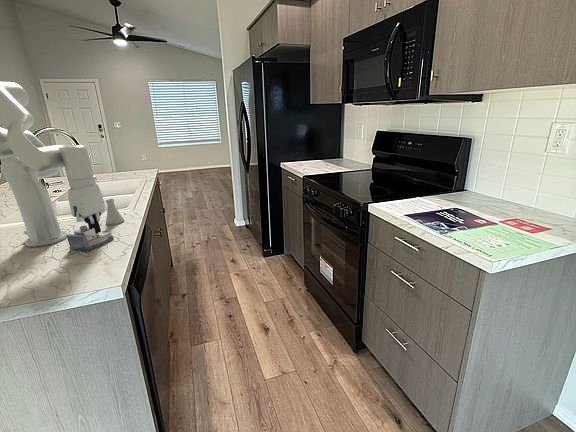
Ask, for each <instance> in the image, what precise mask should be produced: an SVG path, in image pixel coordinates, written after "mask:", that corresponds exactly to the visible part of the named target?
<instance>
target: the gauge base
mask: <svg viewBox="0 0 576 432" xmlns="http://www.w3.org/2000/svg"><path fill="white" fill-rule="evenodd" d="M66 236H67V237H66V238H67V242H68V245H69V247H68V248H69V251H73V252H80V251H81V253H90V252H93V251H95V249H98V248H99V247H102V246H104V245H106V244H107V243H110V242H111V241H114V239H115V238H114V236H113V235H112V231H108V232H106V233H105V234H100V232H99V233H97V234H96V237H97V238H95V239H93V240H91V241H89V242H88V241H87V237H86V236H84V235H74V234H72V233H69V234H67V235H66Z"/></svg>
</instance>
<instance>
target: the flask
mask: <svg viewBox="0 0 576 432" xmlns="http://www.w3.org/2000/svg"><path fill="white" fill-rule="evenodd" d="M105 203H106V206H107V207H106V208H107V210H106V218H105V219H106V220H105V225H107V226H114V225H118V224H120V223H123V222H125V219H124V217H123V216H122V214H121V213H120V211H119V210H118V208H117V206H116V204H115V199H114V198H108V199H105Z"/></svg>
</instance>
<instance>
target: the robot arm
mask: <svg viewBox="0 0 576 432" xmlns="http://www.w3.org/2000/svg"><path fill="white" fill-rule="evenodd" d="M29 102H30V99H29V95H28V93H27V91H26V90H25V88H23V86H21V85H19V84H18V83H16V82H12V81H5V80H4V81H0V124H1V125H2V127H1V126H0V159H4V160H2V162H1V164H0V172H1V174H2V175H3V176H2V177H4V179H5V180H6V181H7V183H8V186H9V187H10V189H11V191H12V195H13V196H14V199H15V202H16V203H17V204H16V205H17V207H18V210H19V213H20V216H21V219H22V221H23V224H24V227H25V229H26V230H24V232H23V234H24V235H27V236H28V237H27V239H26V240H25V241H24V242H25V246H26V247H30V248H38V247H39V248H40V247H44V246H49V245H52V244H53V245H54V244H56V243H59V242H61V241H63V240H65V239H66V238H67V236H66V235H68V233H67V232H66V231H64V230H61V227H60V223H59V221H58V218H57V213H56V211H55V208H54V205H53V202H52V198H51V195H50V192H49V190H48V188H46V186H45V185H44V184H42V182H40V180H42V179H46V178H47V179H48V178H51V177H54V176H56V175H58V174H59V172H60V171H61V168H64V170H65V174H66V177H67V181H68V183H69V184H68V185H69V188H68V191H67V193H68V204H69V207H70V213H71V215H72V217H73V218H75V219H76V222H77V223H82V222H85V224H87V227H88V228H94V229H95V233H96V234H97V233H99V234H100V233H101V232H102V230H101V225H100V221H101V216H102V215H103V214H104V213H105V212H106V210H105V209H106V205H105V204H106V202H105V200H104V197H103V194H102V192H101V189H100V187H99V185H98V183H97V182H96V180H97V176H95V174H94V170H93V167H92V163H91V158H90V154H89V150H88V148H87V147H86V145H81V144H73V145H71V144H70V145H68V144H63V143H62V144H53V145H52V144H51V145H45V144H44V143H43V142H42V141H41V140H40V139H39V138H38V137H37V136H36V135H35V134H33V133H32V132H31V131H29V129H31V128H32V126H34V123H35V118H34V116H33V115H32V113H30V112H29V111H28V109H27V108H25V107H27V106H28V104H29Z"/></svg>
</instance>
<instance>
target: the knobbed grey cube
mask: <svg viewBox="0 0 576 432" xmlns="http://www.w3.org/2000/svg"><path fill="white" fill-rule="evenodd" d="M73 233H74V235H84V236H86V237H87V241H88V242H89V241H91V240H93V239H95V238H97V237H96V233H95V229H94V228H89V226H88V225H80V226H79V228H78V229H76V230H73Z"/></svg>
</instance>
